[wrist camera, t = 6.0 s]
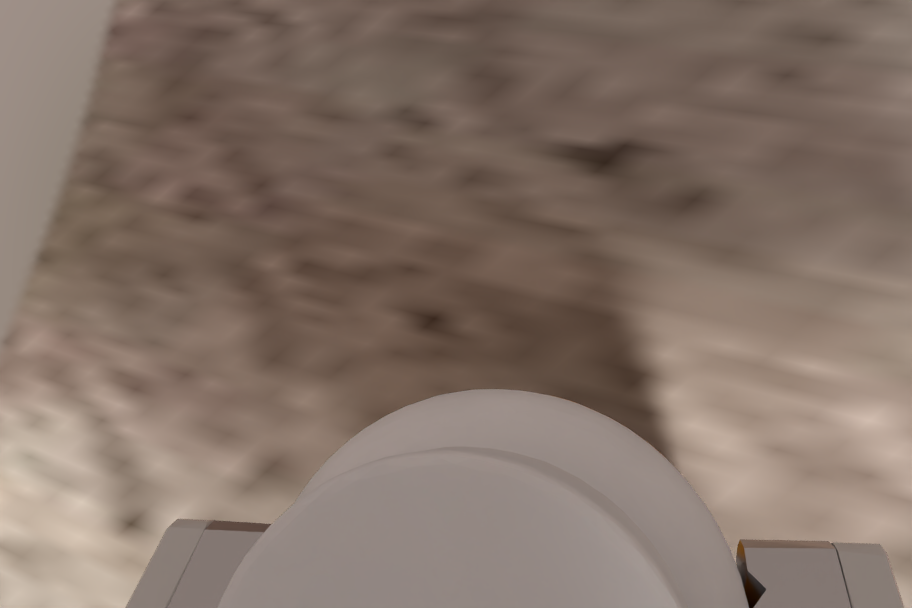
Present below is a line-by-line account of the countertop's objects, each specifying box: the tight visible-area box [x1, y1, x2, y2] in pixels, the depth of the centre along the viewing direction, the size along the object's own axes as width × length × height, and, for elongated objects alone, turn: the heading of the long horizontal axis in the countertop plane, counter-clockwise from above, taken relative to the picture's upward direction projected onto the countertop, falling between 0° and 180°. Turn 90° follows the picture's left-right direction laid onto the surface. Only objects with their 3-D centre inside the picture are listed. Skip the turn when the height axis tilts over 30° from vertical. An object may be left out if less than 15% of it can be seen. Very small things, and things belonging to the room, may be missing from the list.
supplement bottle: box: [218, 389, 749, 608], centre depth 11 cm, size 5×5×10 cm
